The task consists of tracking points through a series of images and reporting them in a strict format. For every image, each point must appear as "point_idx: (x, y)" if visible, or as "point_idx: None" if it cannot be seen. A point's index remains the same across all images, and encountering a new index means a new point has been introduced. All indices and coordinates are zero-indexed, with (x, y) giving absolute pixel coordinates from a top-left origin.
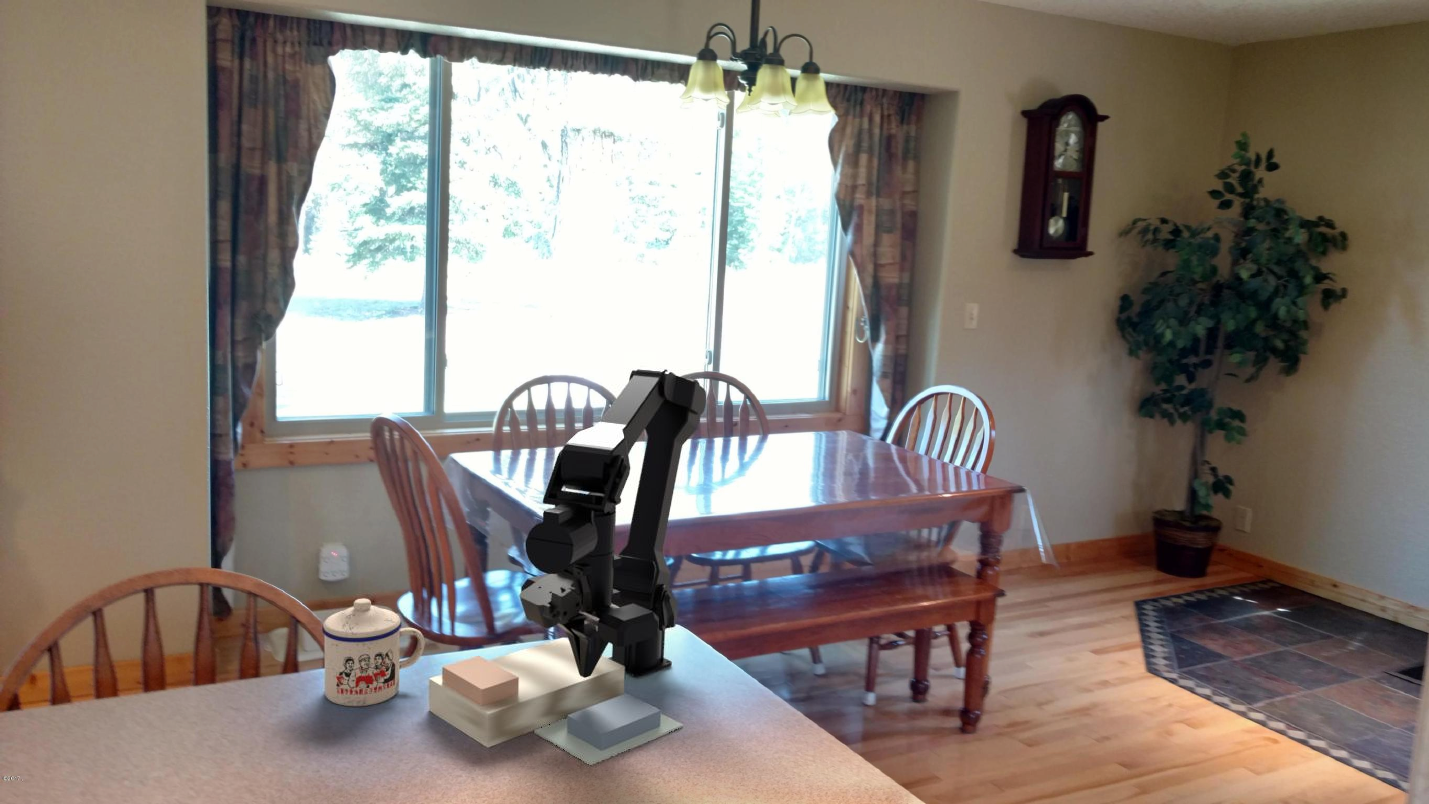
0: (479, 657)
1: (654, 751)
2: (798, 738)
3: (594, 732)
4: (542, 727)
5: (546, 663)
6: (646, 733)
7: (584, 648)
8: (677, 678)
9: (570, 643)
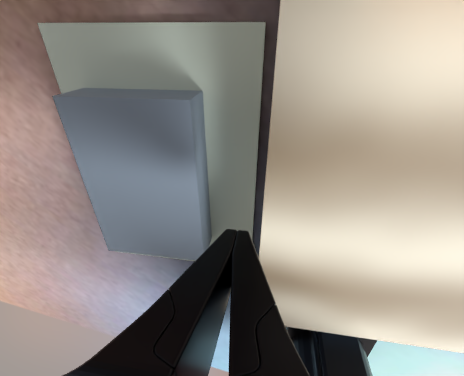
0: None
1: (61, 168)
2: (36, 298)
3: (83, 95)
4: (262, 54)
5: (442, 245)
6: None
7: (153, 320)
8: None
9: (279, 330)
